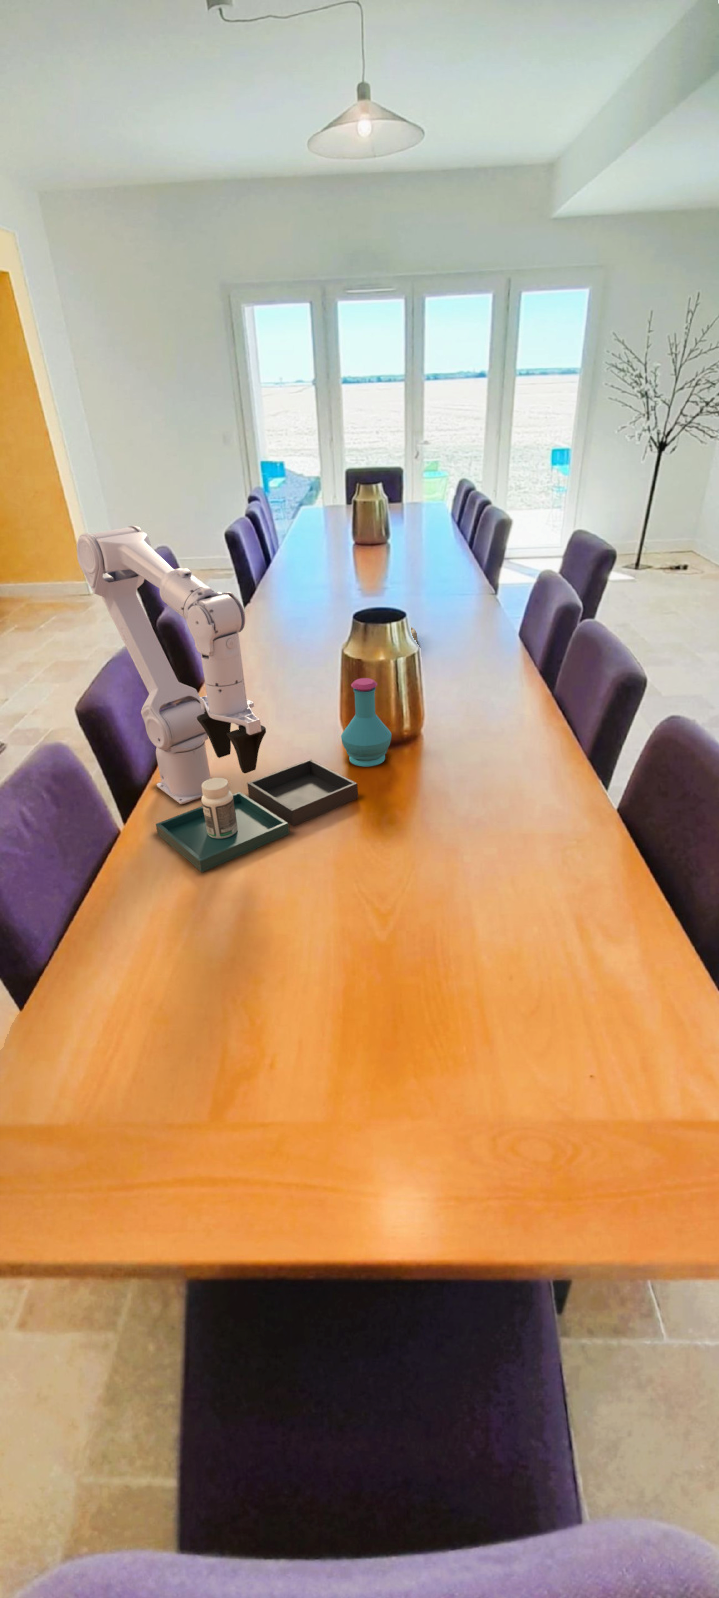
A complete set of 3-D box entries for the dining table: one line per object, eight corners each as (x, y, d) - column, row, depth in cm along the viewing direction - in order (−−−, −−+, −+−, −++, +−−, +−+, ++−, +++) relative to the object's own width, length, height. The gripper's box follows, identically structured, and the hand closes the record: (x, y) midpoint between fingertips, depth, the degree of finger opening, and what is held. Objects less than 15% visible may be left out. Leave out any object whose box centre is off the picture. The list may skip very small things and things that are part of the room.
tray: (157, 834, 112) (155, 823, 111) (241, 801, 121) (239, 791, 120) (201, 872, 103) (199, 861, 102) (289, 834, 111) (288, 823, 110)
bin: (248, 797, 122) (246, 782, 121) (311, 772, 129) (310, 758, 128) (293, 826, 113) (291, 810, 112) (358, 798, 120) (357, 783, 119)
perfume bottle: (387, 771, 128) (385, 691, 121) (337, 768, 130) (332, 689, 123) (395, 749, 136) (394, 673, 129) (348, 747, 138) (344, 672, 131)
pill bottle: (242, 824, 113) (235, 777, 109) (231, 840, 109) (224, 791, 105) (213, 822, 114) (206, 775, 110) (202, 838, 110) (194, 790, 106)
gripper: (274, 684, 103) (283, 769, 109) (223, 662, 113) (234, 741, 119) (231, 697, 99) (243, 784, 106) (182, 673, 109) (196, 754, 115)
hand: (236, 763), depth 112 cm, fingers open, 7 cm apart
